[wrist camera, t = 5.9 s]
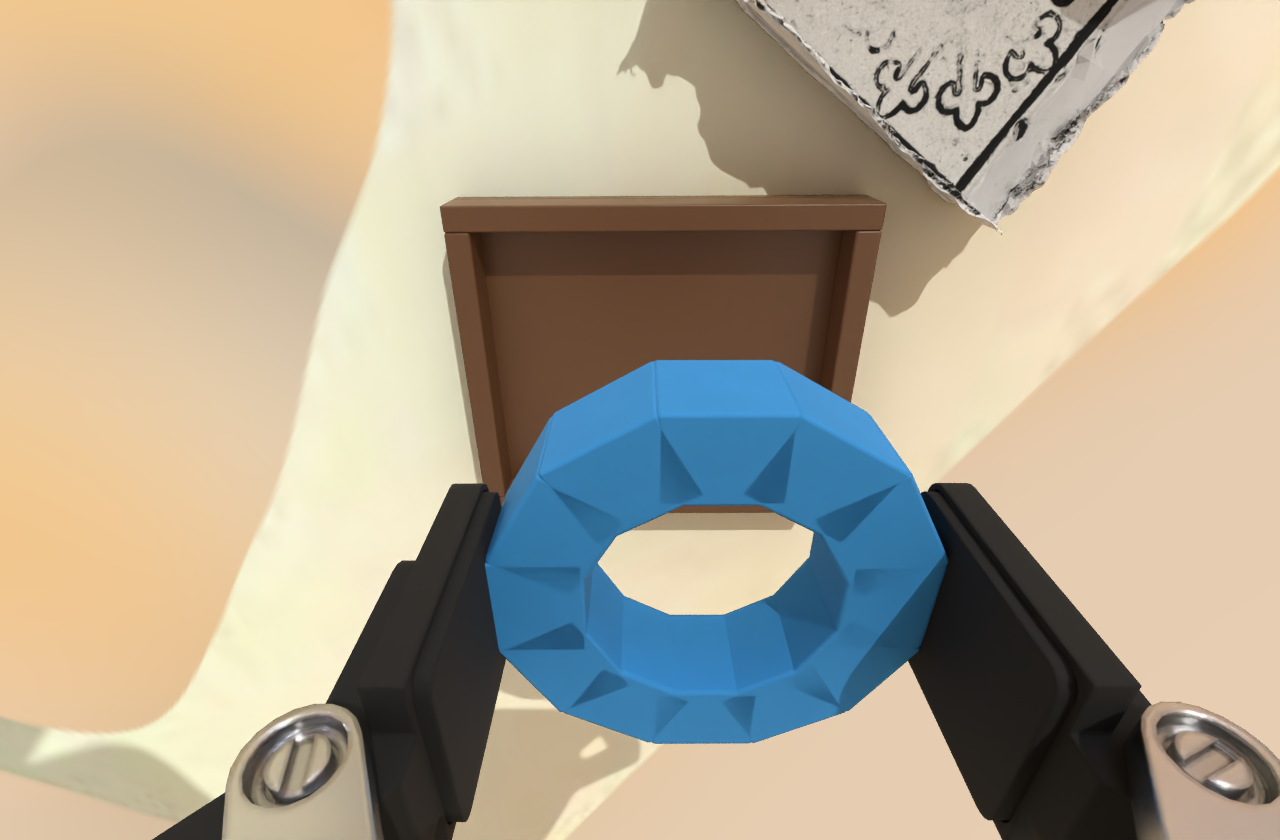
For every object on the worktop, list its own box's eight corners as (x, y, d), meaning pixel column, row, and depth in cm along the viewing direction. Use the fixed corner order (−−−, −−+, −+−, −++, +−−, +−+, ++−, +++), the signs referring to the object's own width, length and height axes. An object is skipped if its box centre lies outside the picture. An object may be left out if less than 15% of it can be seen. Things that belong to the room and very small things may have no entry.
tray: (455, 197, 20) (438, 205, 18) (866, 194, 20) (887, 203, 18) (497, 486, 25) (487, 514, 24) (819, 485, 25) (831, 513, 24)
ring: (487, 358, 9) (457, 414, 8) (939, 357, 9) (1001, 413, 8) (528, 664, 13) (512, 746, 11) (859, 663, 13) (890, 745, 11)
